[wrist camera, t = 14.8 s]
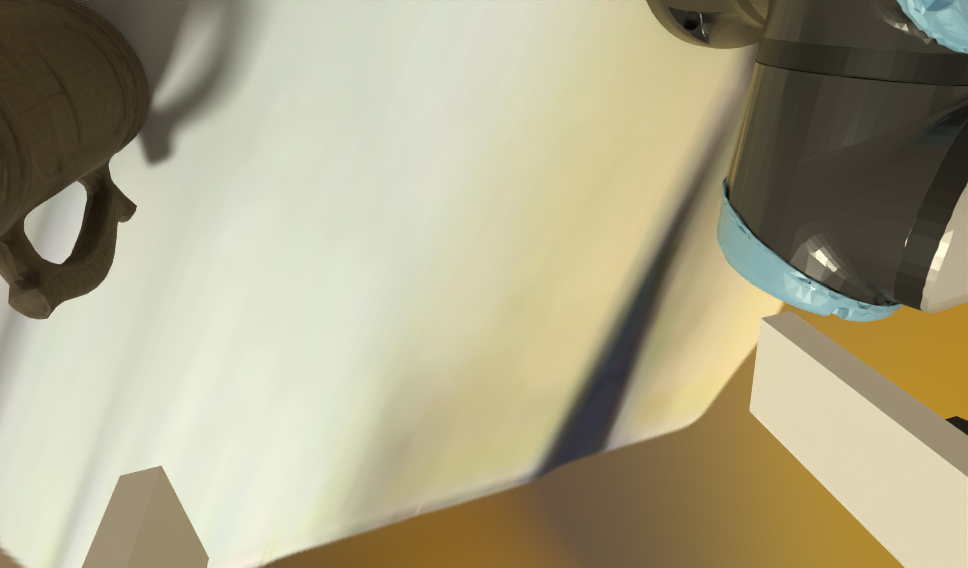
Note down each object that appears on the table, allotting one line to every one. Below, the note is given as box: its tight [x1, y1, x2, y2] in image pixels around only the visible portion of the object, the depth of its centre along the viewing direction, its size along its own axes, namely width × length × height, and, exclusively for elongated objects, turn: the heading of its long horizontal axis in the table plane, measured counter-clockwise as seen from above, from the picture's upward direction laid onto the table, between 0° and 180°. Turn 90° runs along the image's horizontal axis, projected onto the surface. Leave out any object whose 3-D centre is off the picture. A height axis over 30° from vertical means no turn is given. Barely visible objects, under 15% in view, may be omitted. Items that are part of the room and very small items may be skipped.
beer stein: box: [0, 0, 148, 319], centre depth 32 cm, size 15×11×20 cm
